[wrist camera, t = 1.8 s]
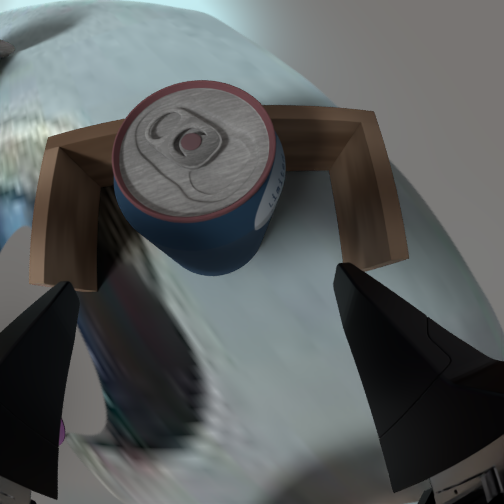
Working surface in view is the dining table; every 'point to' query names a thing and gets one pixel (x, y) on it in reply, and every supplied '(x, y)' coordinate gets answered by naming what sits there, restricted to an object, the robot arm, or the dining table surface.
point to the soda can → (199, 174)
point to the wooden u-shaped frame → (296, 159)
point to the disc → (6, 49)
